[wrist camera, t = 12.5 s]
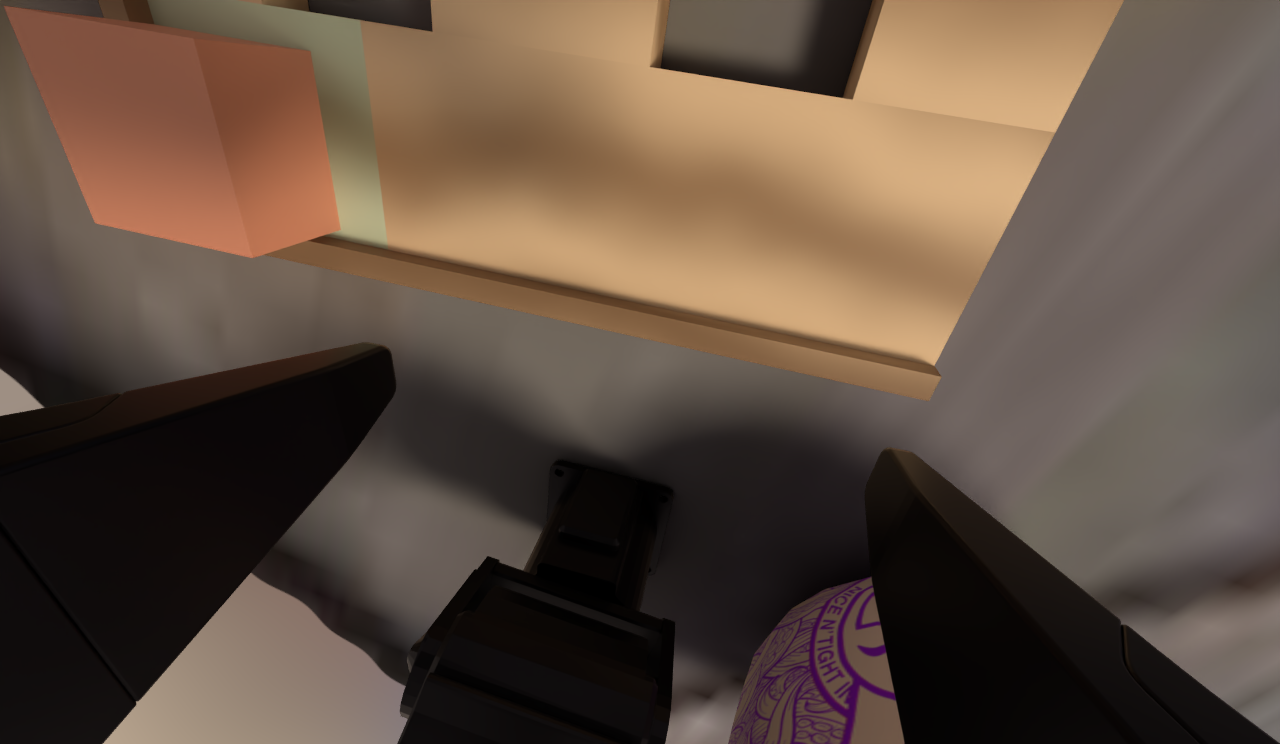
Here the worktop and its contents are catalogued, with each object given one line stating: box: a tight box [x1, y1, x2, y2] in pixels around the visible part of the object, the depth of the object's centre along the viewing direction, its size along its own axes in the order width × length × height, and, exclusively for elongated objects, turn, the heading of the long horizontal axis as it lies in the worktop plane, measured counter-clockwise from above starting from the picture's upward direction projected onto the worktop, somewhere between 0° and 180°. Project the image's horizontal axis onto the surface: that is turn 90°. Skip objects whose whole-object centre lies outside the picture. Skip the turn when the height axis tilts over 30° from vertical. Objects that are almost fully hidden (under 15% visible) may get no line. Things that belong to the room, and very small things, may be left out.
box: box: [98, 0, 1124, 401], centre depth 16 cm, size 16×30×3 cm, turn 82°
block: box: [4, 6, 341, 258], centre depth 17 cm, size 6×6×4 cm
